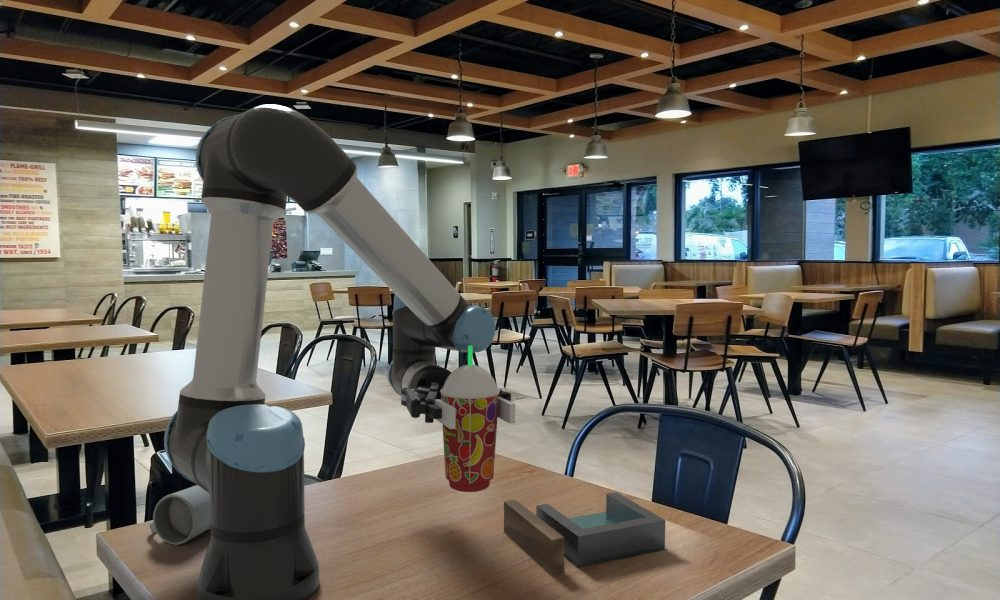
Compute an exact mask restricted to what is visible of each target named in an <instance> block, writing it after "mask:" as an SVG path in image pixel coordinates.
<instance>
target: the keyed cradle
mask: <svg viewBox="0 0 1000 600" xmlns="http://www.w3.org/2000/svg"><path fill="white" fill-rule="evenodd" d="M605 498H606V499H605V502H606V504H605V505H606V506H605V508H606V509H605V511H602V512H597V513H596V512H595V513H590V514H586V515H580V516H579V515H578V516H574V517H568V516H565V514H563V513H561V512H560V511H559V510H557V509H556V508H554V507H553V506H551V504H549V503H543V504H537V505H536V506H535V507H536V509H535V511H536V514H535V515H536V516H537V517H539V518H540V519H541V520H543V521H544V522H545V523H546V524H548V525H549V526H550V527H552V528H553V529H554V530H555V531H557V532H558V533H559V534H561V535H562V536H563V537H564V558H565V559H567V560H568V561H569V562H570V563H571V564H572V565H574V566H575V567H576V568H583V567H587V566H593V565H597V564H602V563H607V562H611V561H616V560H620V559H626V558H630V557H636V556H640V555H644V554H649V553H653V552H659V551H664V550H665V549H666V519H665V518H662V517H661V516H659V515H657V514H655V513H653V512H652V511H651V510H649V509H647V508H645V507H643V506H642V505H641V504H638V503H636V502H635V501H633V500H631V499H629V498H628V497H626V496H624V495H622V494H621V493H619V492H617V491H616V492H610V493H606V496H605Z"/></svg>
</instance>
